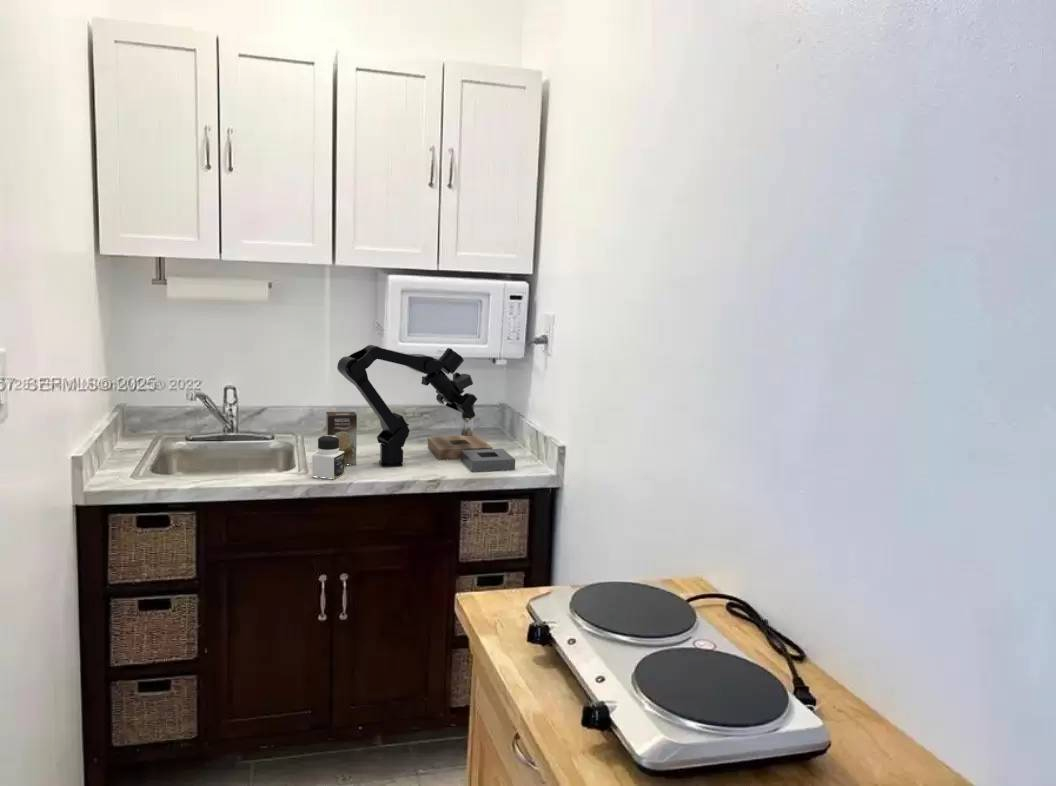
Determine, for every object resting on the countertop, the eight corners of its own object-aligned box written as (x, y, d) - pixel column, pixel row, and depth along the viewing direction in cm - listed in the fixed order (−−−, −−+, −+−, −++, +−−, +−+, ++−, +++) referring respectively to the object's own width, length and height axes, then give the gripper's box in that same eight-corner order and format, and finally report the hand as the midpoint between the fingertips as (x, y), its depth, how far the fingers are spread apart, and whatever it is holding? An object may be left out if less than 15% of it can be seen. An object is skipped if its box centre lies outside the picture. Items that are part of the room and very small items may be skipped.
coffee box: (326, 466, 248) (326, 415, 245) (325, 461, 254) (325, 411, 251) (356, 465, 250) (357, 415, 248) (354, 459, 256) (354, 411, 254)
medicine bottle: (334, 480, 233) (334, 440, 231) (312, 478, 235) (311, 438, 232) (344, 473, 240) (344, 435, 238) (322, 471, 241) (322, 433, 239)
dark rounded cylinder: (466, 436, 265) (467, 398, 263) (458, 434, 268) (459, 396, 265) (475, 434, 268) (476, 396, 266) (467, 432, 270) (468, 395, 268)
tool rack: (438, 460, 260) (439, 449, 259) (427, 447, 277) (427, 437, 276) (491, 457, 266) (492, 447, 265) (477, 445, 282) (478, 435, 282)
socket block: (472, 472, 247) (472, 461, 247) (461, 460, 260) (461, 450, 260) (514, 469, 252) (515, 459, 251) (502, 458, 265) (502, 448, 264)
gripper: (472, 370, 254) (500, 402, 262) (445, 362, 269) (472, 392, 277) (450, 396, 251) (479, 427, 259) (423, 386, 266) (452, 416, 274)
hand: (471, 415), depth 267 cm, fingers closed on dark rounded cylinder, 4 cm apart
